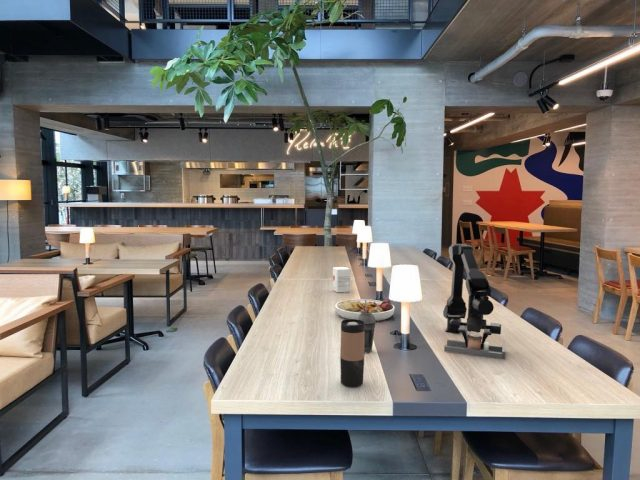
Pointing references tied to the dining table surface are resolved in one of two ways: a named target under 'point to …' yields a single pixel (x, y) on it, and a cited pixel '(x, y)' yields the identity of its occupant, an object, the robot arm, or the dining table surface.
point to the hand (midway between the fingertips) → (474, 347)
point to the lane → (476, 352)
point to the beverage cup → (368, 329)
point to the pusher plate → (486, 346)
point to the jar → (474, 341)
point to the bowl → (357, 306)
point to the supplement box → (341, 279)
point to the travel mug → (352, 352)
